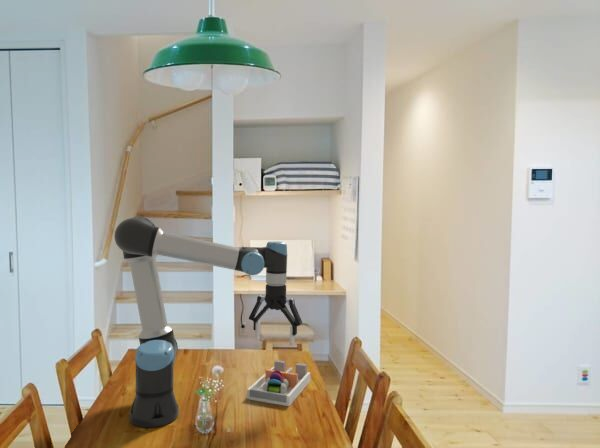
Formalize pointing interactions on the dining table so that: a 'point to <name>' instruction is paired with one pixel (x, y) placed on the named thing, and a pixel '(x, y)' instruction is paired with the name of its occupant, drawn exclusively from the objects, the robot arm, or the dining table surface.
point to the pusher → (285, 376)
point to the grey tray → (285, 399)
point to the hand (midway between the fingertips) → (274, 341)
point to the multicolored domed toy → (276, 383)
